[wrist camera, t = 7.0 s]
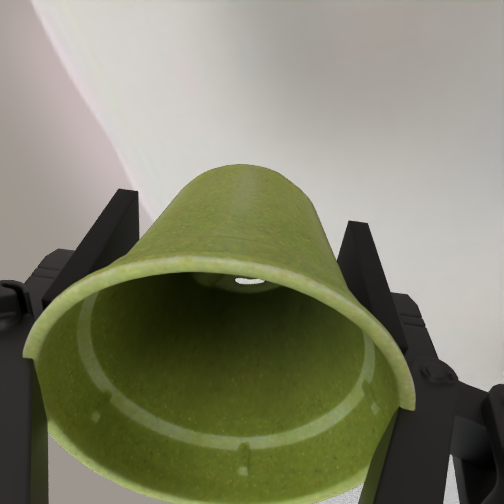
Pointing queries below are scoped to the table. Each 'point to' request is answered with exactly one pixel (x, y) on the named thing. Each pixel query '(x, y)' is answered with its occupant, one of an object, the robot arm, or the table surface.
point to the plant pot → (222, 355)
